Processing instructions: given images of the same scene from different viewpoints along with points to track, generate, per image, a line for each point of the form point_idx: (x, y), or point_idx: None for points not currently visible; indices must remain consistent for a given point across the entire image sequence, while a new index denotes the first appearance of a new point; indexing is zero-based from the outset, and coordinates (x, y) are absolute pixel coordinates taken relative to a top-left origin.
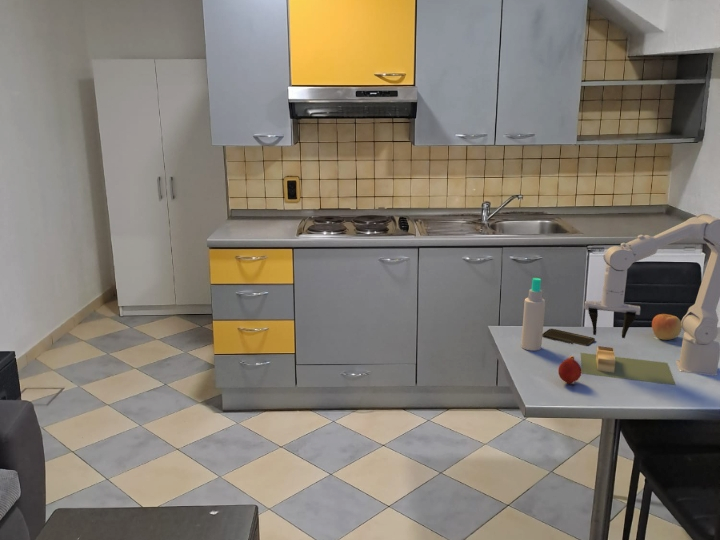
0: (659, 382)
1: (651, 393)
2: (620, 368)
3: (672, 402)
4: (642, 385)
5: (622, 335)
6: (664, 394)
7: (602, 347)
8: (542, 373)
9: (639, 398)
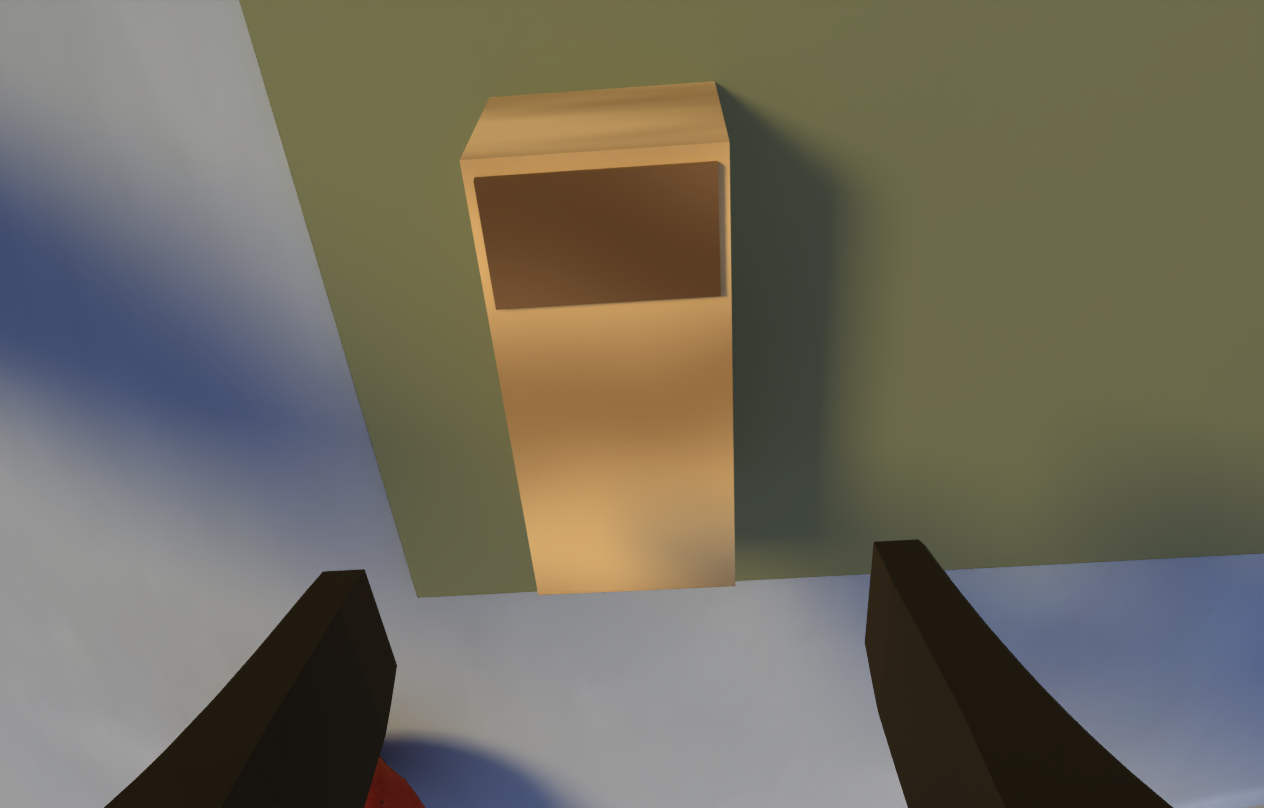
0: (1153, 547)
1: None
2: (805, 353)
3: None
4: None
5: (875, 670)
6: (1111, 694)
7: (549, 220)
8: (102, 663)
9: (888, 791)
